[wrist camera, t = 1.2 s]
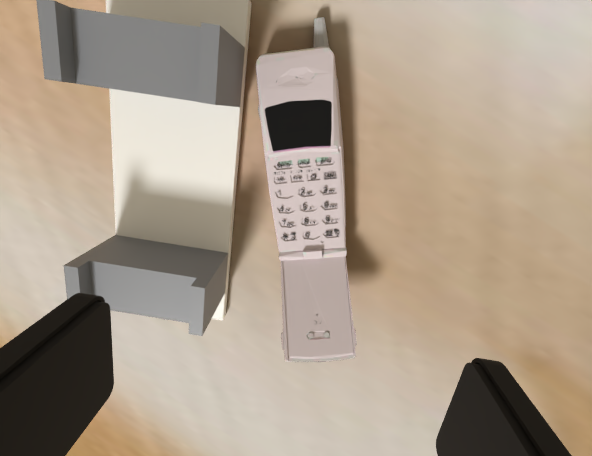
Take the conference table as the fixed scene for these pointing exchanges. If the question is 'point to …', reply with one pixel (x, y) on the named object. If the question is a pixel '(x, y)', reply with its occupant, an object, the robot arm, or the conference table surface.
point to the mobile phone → (308, 198)
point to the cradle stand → (160, 146)
